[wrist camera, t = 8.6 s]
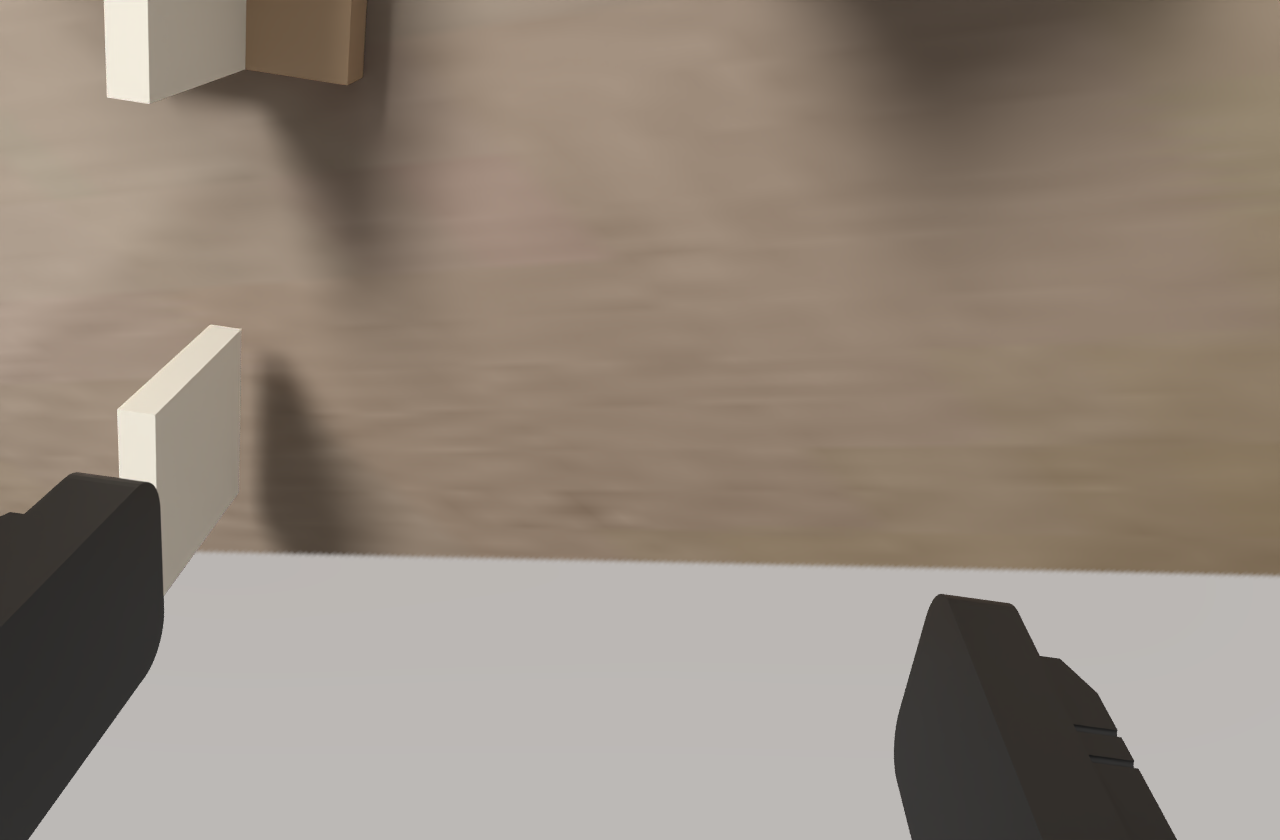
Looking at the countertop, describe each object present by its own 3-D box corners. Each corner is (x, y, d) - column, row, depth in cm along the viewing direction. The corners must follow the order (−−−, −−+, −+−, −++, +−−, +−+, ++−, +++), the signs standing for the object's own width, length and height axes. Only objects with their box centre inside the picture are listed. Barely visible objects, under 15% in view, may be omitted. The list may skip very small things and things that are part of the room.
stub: (207, 324, 37) (113, 408, 30) (241, 329, 37) (154, 414, 30) (206, 487, 39) (120, 598, 33) (239, 491, 39) (158, 603, 33)
